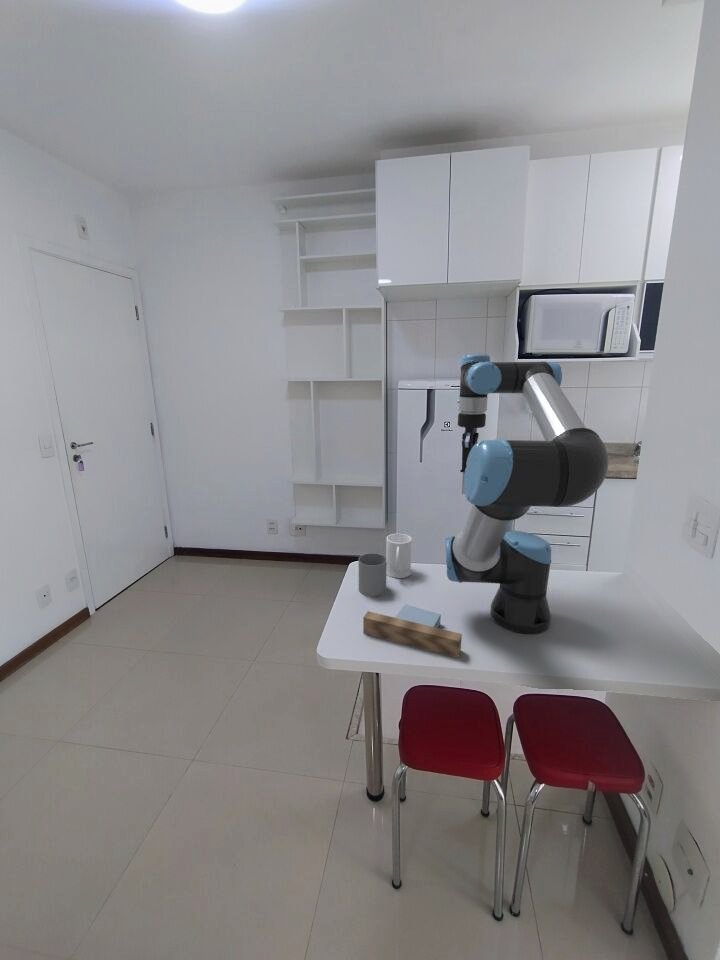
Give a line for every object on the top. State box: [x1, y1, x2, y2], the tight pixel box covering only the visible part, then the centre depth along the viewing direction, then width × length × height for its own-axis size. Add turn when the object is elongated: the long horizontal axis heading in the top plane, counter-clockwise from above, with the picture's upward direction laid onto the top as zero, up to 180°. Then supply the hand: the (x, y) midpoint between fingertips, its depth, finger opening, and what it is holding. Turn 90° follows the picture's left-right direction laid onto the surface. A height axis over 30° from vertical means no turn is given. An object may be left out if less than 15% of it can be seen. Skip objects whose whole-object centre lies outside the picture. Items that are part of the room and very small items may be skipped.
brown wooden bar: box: [362, 610, 463, 659], centre depth 104 cm, size 24×3×4 cm, turn 67°
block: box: [394, 603, 442, 628], centre depth 110 cm, size 10×8×4 cm
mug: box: [385, 533, 413, 579], centre depth 136 cm, size 12×8×12 cm
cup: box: [358, 552, 387, 597], centre depth 128 cm, size 8×8×10 cm
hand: (466, 493), depth 124 cm, fingers closed
